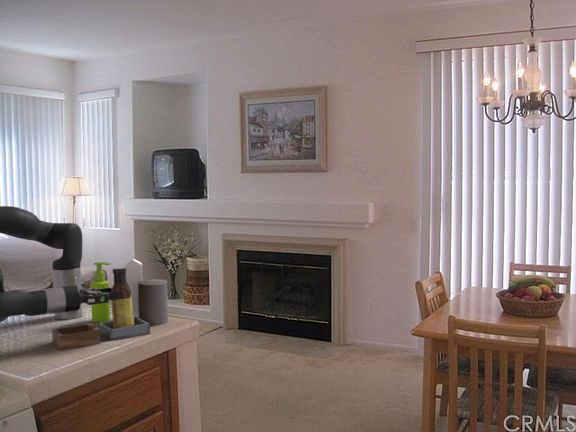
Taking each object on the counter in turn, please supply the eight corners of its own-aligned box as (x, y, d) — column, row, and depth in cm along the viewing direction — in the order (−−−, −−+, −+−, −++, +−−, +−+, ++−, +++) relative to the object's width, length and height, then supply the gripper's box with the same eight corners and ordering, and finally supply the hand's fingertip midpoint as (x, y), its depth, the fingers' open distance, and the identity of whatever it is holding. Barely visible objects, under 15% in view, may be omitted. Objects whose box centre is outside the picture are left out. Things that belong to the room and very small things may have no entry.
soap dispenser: (107, 322, 190) (105, 263, 189) (88, 321, 191) (86, 263, 190) (115, 318, 196) (113, 261, 195) (97, 317, 197) (95, 261, 196)
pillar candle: (132, 323, 187) (131, 279, 186) (151, 317, 196) (150, 274, 195) (156, 327, 183) (155, 281, 182) (174, 320, 192) (173, 276, 191)
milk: (126, 320, 192) (123, 256, 191) (125, 316, 198) (123, 254, 197) (144, 319, 194) (141, 255, 193) (143, 315, 200) (141, 253, 199)
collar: (52, 342, 166) (51, 329, 166) (90, 336, 173) (89, 323, 172) (60, 350, 158) (60, 336, 158) (100, 343, 165) (99, 329, 164)
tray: (98, 332, 177) (98, 322, 177) (136, 326, 184) (136, 317, 184) (110, 340, 168) (109, 330, 167) (150, 333, 175) (149, 323, 174)
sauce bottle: (138, 330, 176) (135, 267, 175) (122, 334, 171) (119, 269, 170) (124, 328, 180) (121, 266, 179) (108, 332, 174) (105, 268, 174)
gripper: (67, 290, 158) (123, 284, 168) (54, 283, 170) (108, 278, 179) (68, 317, 159) (124, 308, 168) (55, 308, 170) (109, 301, 180)
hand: (116, 292), depth 174 cm, fingers open, 8 cm apart
